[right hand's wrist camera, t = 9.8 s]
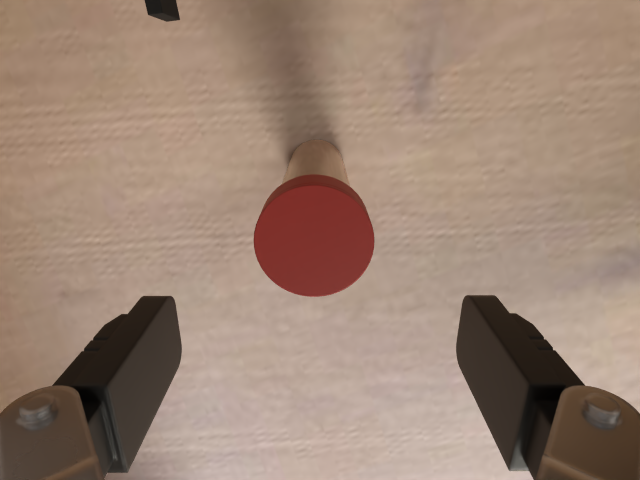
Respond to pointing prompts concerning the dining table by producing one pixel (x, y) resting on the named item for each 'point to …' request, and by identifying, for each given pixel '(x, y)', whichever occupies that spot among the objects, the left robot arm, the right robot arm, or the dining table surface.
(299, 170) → the cylinder
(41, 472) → the right robot arm
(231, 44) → the dining table surface
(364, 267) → the lid
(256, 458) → the dining table surface
